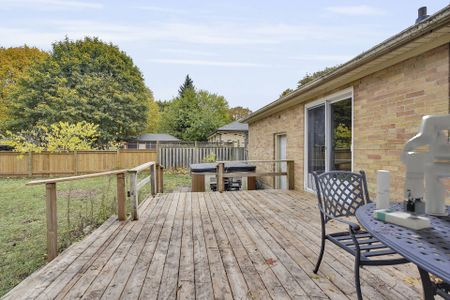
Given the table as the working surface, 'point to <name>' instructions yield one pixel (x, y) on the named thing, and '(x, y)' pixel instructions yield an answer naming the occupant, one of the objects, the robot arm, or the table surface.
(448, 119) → the robot arm
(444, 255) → the table surface
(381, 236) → the table surface
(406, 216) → the docking board
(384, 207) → the cylindrical container
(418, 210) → the grey rectangular block
